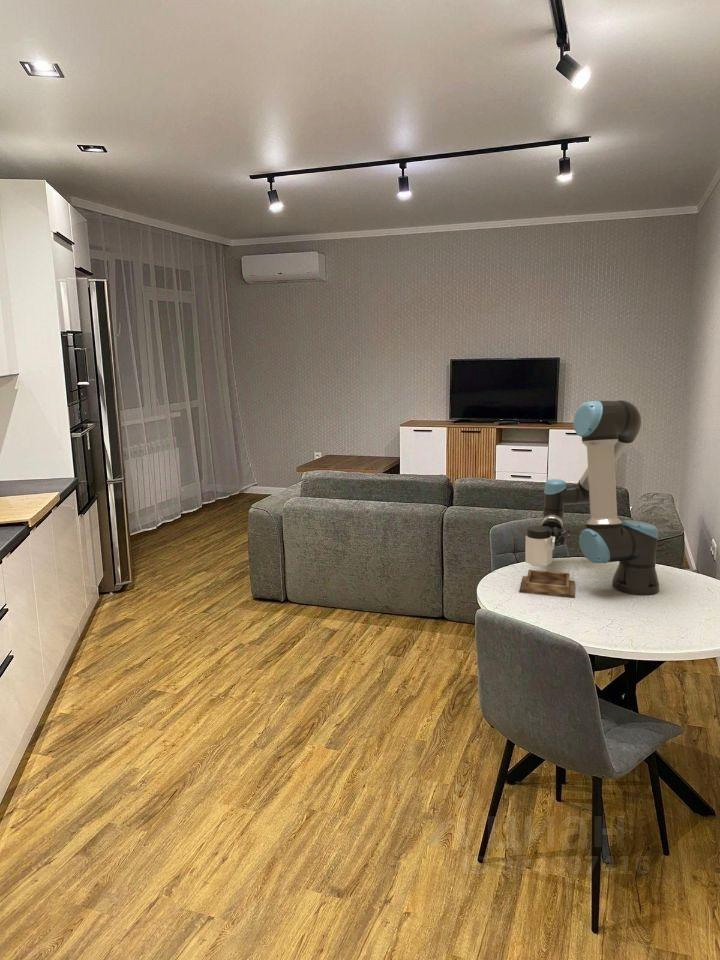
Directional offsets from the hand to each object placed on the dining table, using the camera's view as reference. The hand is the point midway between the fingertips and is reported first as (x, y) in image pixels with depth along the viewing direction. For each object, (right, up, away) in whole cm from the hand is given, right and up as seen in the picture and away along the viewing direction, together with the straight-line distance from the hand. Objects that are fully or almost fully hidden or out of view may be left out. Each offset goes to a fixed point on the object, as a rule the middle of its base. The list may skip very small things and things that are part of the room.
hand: (549, 545), depth 238 cm
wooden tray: (+1, -15, +8) cm, 18 cm away
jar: (-2, -7, +7) cm, 10 cm away
